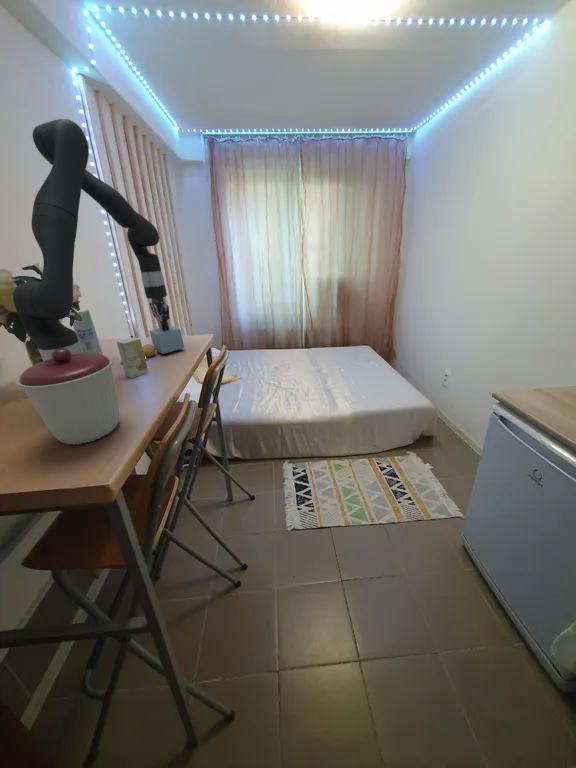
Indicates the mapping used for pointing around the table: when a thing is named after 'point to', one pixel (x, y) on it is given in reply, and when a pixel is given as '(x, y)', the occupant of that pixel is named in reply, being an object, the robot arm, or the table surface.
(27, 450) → the table surface
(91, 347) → the tall pale blue carton
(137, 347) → the skincare box
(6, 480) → the table surface
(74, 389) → the canister
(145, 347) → the ball
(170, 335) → the blue stepped block
